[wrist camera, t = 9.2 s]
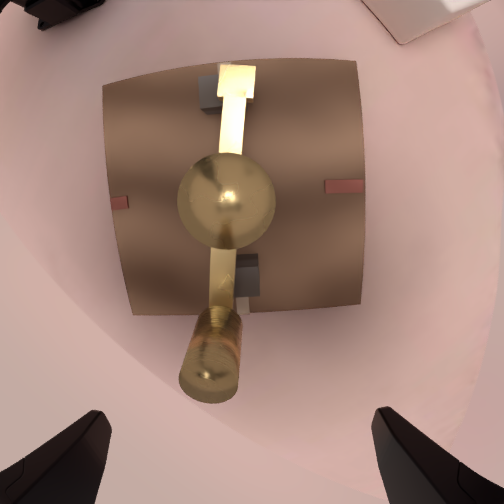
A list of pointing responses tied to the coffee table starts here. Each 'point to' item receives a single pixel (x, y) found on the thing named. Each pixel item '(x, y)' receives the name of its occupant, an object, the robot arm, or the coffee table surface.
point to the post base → (268, 157)
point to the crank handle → (223, 238)
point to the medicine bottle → (418, 15)
